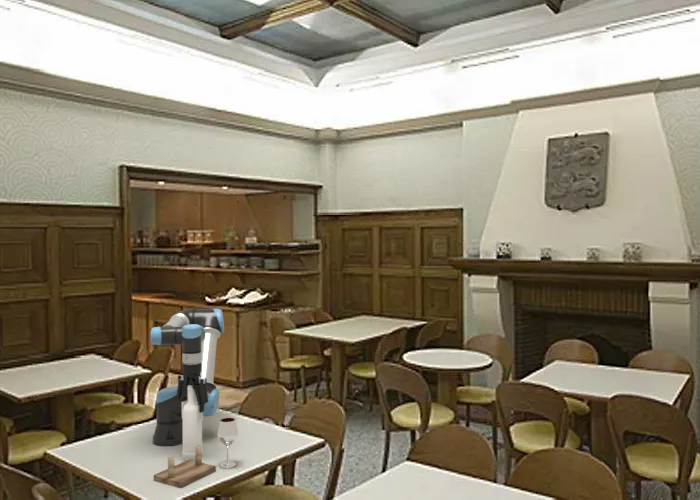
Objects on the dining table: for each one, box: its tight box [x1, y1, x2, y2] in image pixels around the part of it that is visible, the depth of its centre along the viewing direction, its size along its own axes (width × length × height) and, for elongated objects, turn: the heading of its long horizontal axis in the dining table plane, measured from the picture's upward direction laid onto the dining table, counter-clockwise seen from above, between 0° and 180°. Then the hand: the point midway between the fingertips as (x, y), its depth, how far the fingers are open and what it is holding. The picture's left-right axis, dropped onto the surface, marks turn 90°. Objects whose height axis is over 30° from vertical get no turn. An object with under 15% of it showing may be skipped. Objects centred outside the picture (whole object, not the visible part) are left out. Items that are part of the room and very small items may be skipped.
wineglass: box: [216, 417, 239, 469], centre depth 235 cm, size 8×8×18 cm
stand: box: [153, 445, 217, 489], centre depth 224 cm, size 14×18×9 cm
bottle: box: [181, 385, 203, 462], centre depth 243 cm, size 8×8×30 cm
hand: (192, 418), depth 243 cm, fingers closed on bottle, 8 cm apart
